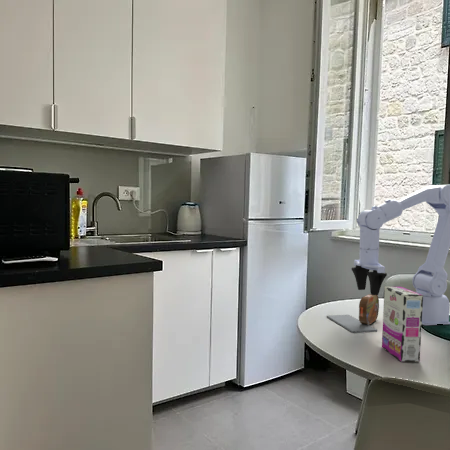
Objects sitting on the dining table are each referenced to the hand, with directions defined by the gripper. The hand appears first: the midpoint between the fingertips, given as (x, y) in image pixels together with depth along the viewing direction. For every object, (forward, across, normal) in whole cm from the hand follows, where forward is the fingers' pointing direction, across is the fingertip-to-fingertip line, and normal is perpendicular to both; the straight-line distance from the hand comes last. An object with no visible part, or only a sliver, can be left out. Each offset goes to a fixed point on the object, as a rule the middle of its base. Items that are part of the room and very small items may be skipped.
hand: (367, 292), depth 136 cm
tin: (+10, -1, +1) cm, 10 cm away
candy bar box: (+10, +26, -6) cm, 29 cm away
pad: (+10, -1, -5) cm, 11 cm away
